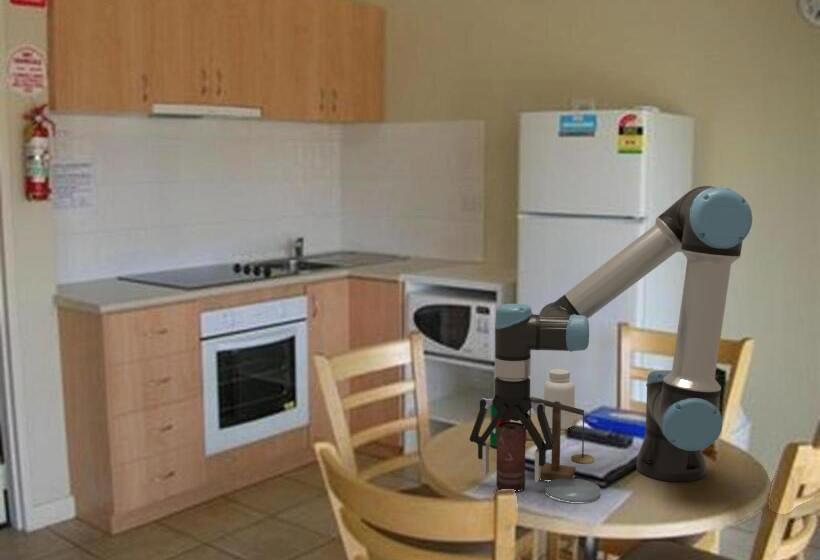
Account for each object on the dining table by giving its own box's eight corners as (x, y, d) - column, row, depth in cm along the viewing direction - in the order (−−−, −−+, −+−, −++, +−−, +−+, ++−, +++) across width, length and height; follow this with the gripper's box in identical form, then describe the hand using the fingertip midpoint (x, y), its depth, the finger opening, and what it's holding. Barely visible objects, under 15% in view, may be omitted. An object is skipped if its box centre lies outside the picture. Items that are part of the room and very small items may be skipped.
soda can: (513, 444, 219) (514, 397, 218) (504, 450, 215) (505, 402, 213) (495, 441, 222) (495, 394, 220) (486, 446, 218) (486, 399, 216)
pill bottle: (543, 429, 231) (544, 374, 229) (543, 421, 239) (544, 367, 237) (574, 431, 230) (575, 375, 228) (573, 422, 238) (574, 368, 236)
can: (525, 493, 187) (525, 430, 185) (495, 491, 188) (495, 428, 186) (527, 483, 193) (527, 421, 191) (498, 481, 194) (498, 420, 192)
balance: (595, 477, 196) (597, 398, 194) (591, 486, 190) (593, 405, 188) (521, 469, 202) (522, 392, 199) (515, 478, 196) (516, 398, 194)
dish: (603, 486, 190) (603, 481, 190) (596, 506, 180) (596, 501, 179) (550, 480, 194) (550, 475, 194) (540, 499, 183) (540, 494, 183)
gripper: (570, 377, 187) (568, 476, 190) (464, 369, 194) (464, 465, 197) (564, 385, 180) (562, 488, 183) (455, 376, 187) (454, 476, 190)
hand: (511, 476), depth 190 cm, fingers open, 11 cm apart
